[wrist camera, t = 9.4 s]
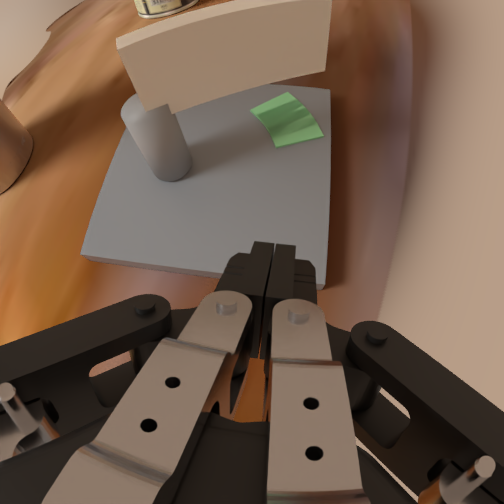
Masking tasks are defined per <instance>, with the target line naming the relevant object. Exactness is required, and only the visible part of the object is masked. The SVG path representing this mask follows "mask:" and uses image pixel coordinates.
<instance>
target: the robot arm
mask: <svg viewBox="0 0 504 504" xmlns="http://www.w3.org/2000/svg"><path fill="white" fill-rule="evenodd" d="M32 148H33V139H32V136H31V135H30V134H29V133H28V131H27V130H26V129H25V128H24V127H23V126H22V124H21V123H20V122H19V121H18V120H17V119H16V117H15V116H14V115H13V114H12V112H11V111H10V110H9V109H8V108H7V107H6V105H5V104H4V103H3V102H2V100H1V99H0V194H1V193H2V192H4V191H5V190H6V189H7V188H9V187H10V186H11V184H12V183H13V182H14V181H15V180H16V179H17V178H18V176H19V175H20V174H21V172H22V171H23V169H24V167H25V166H26V164H27V162H28V160H29V157H30V155H31V152H32ZM274 245H275V243H269V242H260V241H254V244H253V246H252V249H251V252H250V254H249V253H240V252H238V253H237V254H235V255H234V256H232V257H231V258H230V259H229V261H228V263H227V265H226V267H225V269H224V272H223V274H222V276H221V278H220V280H219V282H218V285H217V287H216V289H215V291H214V292H213V293H211V294H209V295H207V296H206V297H204V298H203V300H202V301H201V303H200V304H199V306H198V307H195V308H191V309H177V310H171V307H170V303H169V302H168V301H167V300H166V299H165V298H163V297H161V296H158V295H153V294H144V295H138V296H135V297H132V298H129V299H127V300H124V301H121V302H118V303H116V304H113V305H110V306H108V307H105V308H102V309H100V310H97V311H94V312H91V313H89V314H86V315H83V316H81V317H78V318H75V319H72V320H70V321H67V322H64V323H62V324H59V325H56V326H53V327H51V328H48V329H45V330H43V331H40V332H37V333H34V334H32V335H29V336H26V337H24V338H21V339H18V340H15V341H13V342H10V343H7V344H5V345H2V346H0V504H504V412H503V411H501V410H500V409H499V408H497V407H496V406H495V405H494V404H493V403H491V402H490V401H489V400H487V399H486V398H485V397H483V396H482V395H481V394H479V393H478V392H477V391H475V390H474V389H473V388H472V387H470V386H469V385H468V384H466V383H465V382H464V381H462V380H461V379H460V378H458V377H457V376H456V375H455V374H453V373H452V372H451V371H449V370H448V369H447V368H445V367H444V366H442V365H441V364H440V363H439V362H437V361H436V360H435V359H433V358H432V357H431V356H429V355H428V354H427V353H425V352H424V351H423V350H421V349H420V348H419V347H417V346H416V345H414V344H413V343H412V342H410V341H409V340H408V339H406V338H405V337H404V336H402V335H401V334H400V333H398V332H397V331H396V330H394V329H392V328H391V327H390V326H388V325H386V324H383V323H380V322H376V321H364V322H360V323H358V324H356V325H355V326H354V327H353V328H352V330H351V332H348V331H345V330H342V329H338V328H336V327H333V326H331V325H329V324H328V323H326V322H325V317H324V313H323V311H322V309H321V308H320V307H318V306H317V289H316V270H315V267H314V266H313V264H312V263H311V262H310V261H309V260H302V259H295V255H296V245H287V244H278V243H276V246H275V251H274ZM261 338H262V339H261ZM260 343H261V350H260V359H264V360H265V362H264V373H265V382H264V399H263V414H262V422H246V423H240V422H235V421H233V418H234V415H235V412H236V409H237V406H238V404H239V401H240V398H241V395H242V392H243V389H244V386H245V383H246V380H247V376H248V363H249V359H250V358H258V353H259V348H260ZM127 351H129V353H130V357H131V361H129V362H127V363H124V364H122V365H120V366H117V367H115V368H113V369H111V370H108V371H106V372H104V373H101V374H99V375H97V376H94V377H89V372H90V370H91V369H92V368H93V367H94V366H95V365H97V364H99V363H101V362H103V361H106V360H108V359H111V358H113V357H115V356H118V355H120V354H122V353H125V352H127ZM381 387H382V388H383V389H384V390H385V391H387V392H388V393H389V394H390V395H391V396H392V397H394V398H395V399H396V400H397V401H398V402H399V403H401V404H402V405H403V406H404V407H405V408H406V409H407V410H408V412H409V415H410V419H409V418H408V417H407V416H406V415H405V414H403V413H402V412H401V411H400V410H399V409H398V408H397V407H395V406H394V405H393V404H392V403H391V402H390V401H389V400H388V399H386V398H385V397H384V396H383V395H382V394H381V393H380V392H379V391H380V389H381ZM355 436H356V437H357V438H358V439H359V440H360V441H361V442H362V443H363V444H364V445H365V446H366V447H367V448H368V449H369V450H370V451H371V452H372V453H373V454H374V455H375V456H376V457H377V458H378V459H379V460H380V461H381V462H382V463H383V464H384V465H385V466H386V467H387V468H388V469H389V470H390V471H391V472H393V474H395V475H396V476H397V477H398V478H399V479H400V480H401V481H402V482H403V483H404V484H405V485H406V486H407V487H408V488H409V489H410V490H412V491H413V492H414V493H415V494H416V495H417V496H418V497H419V498H418V503H417V502H416V501H415V500H414V499H413V498H412V497H411V496H410V495H409V494H408V493H407V492H406V491H405V490H404V489H403V488H402V487H401V486H400V485H399V484H398V482H396V481H395V480H394V478H392V476H391V475H390V474H389V473H388V472H387V471H386V470H385V469H384V468H383V467H382V466H381V465H380V464H379V463H378V462H377V461H376V460H375V459H374V458H373V457H372V456H371V455H370V454H369V453H367V452H366V451H365V450H363V449H362V448H360V447H359V446H357V445H356V440H355Z"/></svg>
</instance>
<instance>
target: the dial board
mask: <svg viewBox="0 0 504 504" xmlns="http://www.w3.org/2000/svg"><path fill="white" fill-rule="evenodd" d="M175 115H176V117H177V120H178V122H179V125H180V128H181V130H182V133H183V136H184V138H185V141H186V143H187V146H188V149H189V151H190V154H191V156H192V166H191V168H190V170H189V171H188V172H187V174H185V175H184V176H183V177H182V178H180V179H178V180H175V181H170V182H166V181H162V180H159V179H158V178H157V177H156V176H155V175H154V173H153V171H152V170H151V168H150V166H149V164H148V163H147V161H146V159H145V158H144V156H143V154H142V152H141V151H140V149H139V147H138V146H137V144H136V142H135V140H134V139H133V137H132V135H131V133H130V132H129V130H128V128H127V127H126V129H125V131H124V133H123V136H122V138H121V140H120V143H119V145H118V147H117V150H116V152H115V155H114V157H113V159H112V162H111V164H110V167H109V170H108V172H107V175H106V177H105V180H104V183H103V185H102V188H101V191H100V194H99V196H98V199H97V202H96V205H95V208H94V211H93V214H92V217H91V220H90V223H89V226H88V229H87V233H86V236H85V239H84V243H83V246H82V249H81V253H80V254H81V255H82V256H84V257H85V258H87V259H88V260H90V261H96V262H103V263H110V264H116V265H123V266H130V267H137V268H144V269H151V270H159V271H166V272H173V273H181V274H189V275H196V276H204V277H212V278H221V276H222V274H223V272H224V269H225V267H226V265H227V263H228V261H229V259H230V258H231V257H232V256H234V255H235V254H237V253H238V252H240V253H249V254H250V252H251V249H252V246H253V244H254V241H260V242H269V243H275V245H274V251H275V246H276V243H278V244H287V245H296V255H295V259H302V260H309V261H310V262H311V263H312V264H313V266H314V267H315V270H316V289H318V290H322V289H323V287H324V285H325V278H326V264H327V249H328V231H329V208H330V173H331V105H330V89H321V88H312V87H301V86H289V85H274V84H265V85H261V86H258V87H254V88H250V89H247V90H243V91H240V92H237V93H233V94H230V95H227V96H223V97H220V98H217V99H214V100H211V101H208V102H205V103H202V104H199V105H196V106H193V107H190V108H188V109H185V110H182V111H179V112H177V113H175Z"/></svg>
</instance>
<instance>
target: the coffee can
mask: <svg viewBox="0 0 504 504" xmlns="http://www.w3.org/2000/svg"><path fill="white" fill-rule="evenodd" d="M134 1H135V4H136V7H137V10H138V14H139V16H140V17H143V18H159V17H165V16H169V15H172V14H175V13H178V12H181V11H183V10H185V9H187V8H189V7H191V6H193V5H194V4H196V3H197V2H198V1H199V0H134Z"/></svg>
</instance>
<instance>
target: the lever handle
mask: <svg viewBox="0 0 504 504" xmlns="http://www.w3.org/2000/svg"><path fill="white" fill-rule="evenodd" d="M331 6H332V0H235V1H231V2H226V3H222V4H218V5H213V6H210V7H206V8H202V9H198V10H195V11H191V12H188V13H184V14H181V15H178V16H175V17H172V18H169V19H166V20H163V21H160V22H157V23H154V24H151V25H148V26H146V27H143V28H140V29H138V30H135V31H133V32H130V33H128V34H125V35H123V36H121V37H118V38H116V43H117V51H118V53H119V55H120V57H121V60H122V62H123V64H124V66H125V68H126V71H127V73H128V75H129V77H130V79H131V82H132V84H133V86H134V88H135V90H136V92H137V93H136V94H134V95H133V96H131V97H130V98H129V99H128V100H127V101H126V102H125V104H124V105H123V107H122V109H121V117H122V119H123V121H124V123H125V125H126V126H127V128H128V130H129V132H130V133H131V135H132V137H133V139H134V140H135V142H136V144H137V146H138V147H139V149H140V151H141V152H142V154H143V156H144V158H145V159H146V161H147V163H148V164H149V166H150V168H151V170H152V171H153V173H154V175H155V176H156V177H157V178H158V179H159V180H162V181H166V182H170V181H175V180H178V179H180V178H182V177H183V176H184V175H185V174H187V172H188V171H189V170H190V168H191V166H192V156H191V154H190V151H189V149H188V146H187V143H186V141H185V138H184V136H183V133H182V130H181V128H180V125H179V122H178V120H177V117H176V115H175V113H177V112H179V111H182V110H185V109H188V108H190V107H193V106H196V105H199V104H202V103H205V102H208V101H211V100H214V99H217V98H220V97H223V96H227V95H230V94H233V93H237V92H240V91H243V90H247V89H250V88H254V87H258V86H261V85H265V84H269V83H273V82H277V81H281V80H285V79H289V78H294V77H298V76H303V75H308V74H312V73H317V72H322V71H325V66H326V57H327V48H328V38H329V28H330V17H331Z"/></svg>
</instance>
